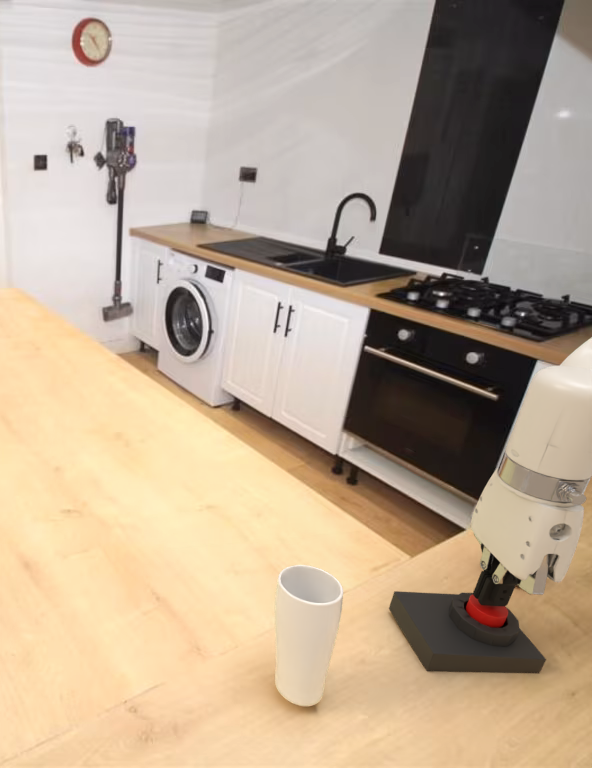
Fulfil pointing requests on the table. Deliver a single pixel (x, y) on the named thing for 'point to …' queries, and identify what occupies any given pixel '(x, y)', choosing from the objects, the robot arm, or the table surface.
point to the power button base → (461, 636)
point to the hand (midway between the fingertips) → (489, 600)
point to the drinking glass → (305, 631)
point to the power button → (486, 613)
